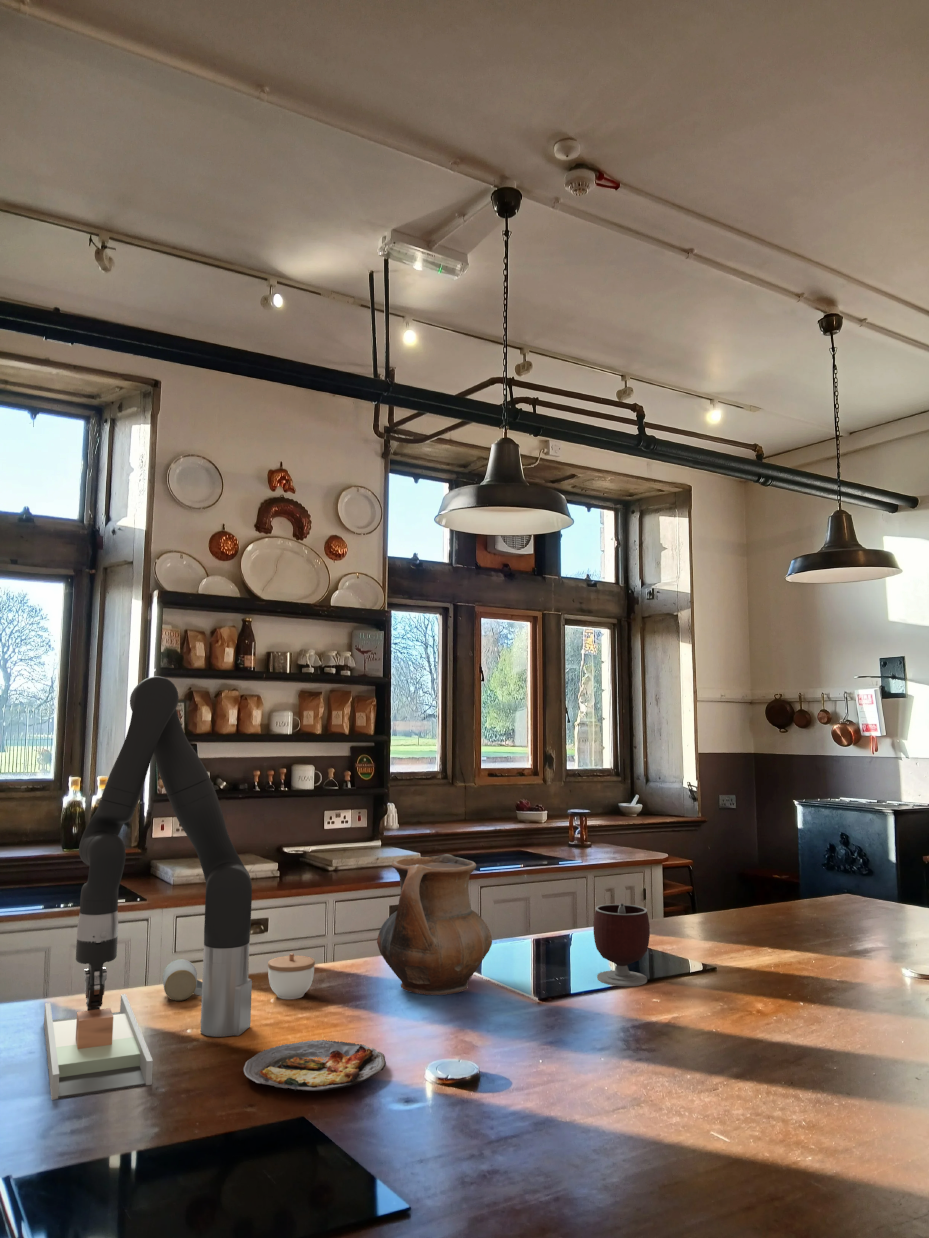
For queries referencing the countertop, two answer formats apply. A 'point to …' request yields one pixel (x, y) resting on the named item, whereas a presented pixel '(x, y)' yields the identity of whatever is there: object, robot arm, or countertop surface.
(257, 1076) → the food plate
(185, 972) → the ceramic mug
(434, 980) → the jug
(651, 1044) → the countertop surface
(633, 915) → the mate gourd
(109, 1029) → the block
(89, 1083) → the trap channel
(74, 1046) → the pad
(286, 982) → the lidded jar
